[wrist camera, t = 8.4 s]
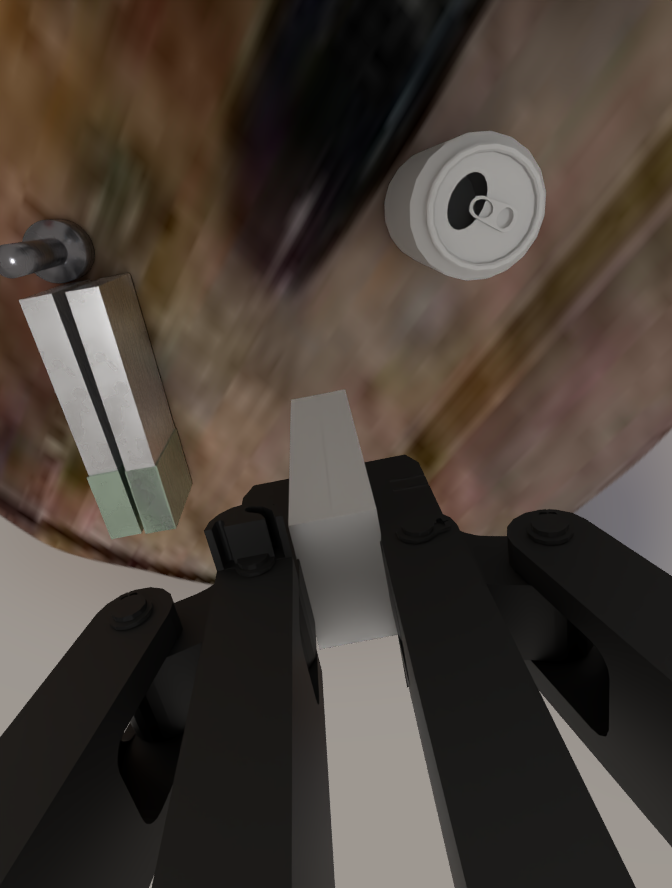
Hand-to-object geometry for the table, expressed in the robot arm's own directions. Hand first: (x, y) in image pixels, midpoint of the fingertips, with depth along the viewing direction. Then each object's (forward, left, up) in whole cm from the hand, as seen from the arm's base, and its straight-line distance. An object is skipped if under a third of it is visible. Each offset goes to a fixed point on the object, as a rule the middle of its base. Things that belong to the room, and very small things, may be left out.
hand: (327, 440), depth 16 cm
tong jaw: (+5, -13, -28) cm, 31 cm away
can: (-4, +10, -29) cm, 31 cm away
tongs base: (+3, -16, -28) cm, 33 cm away
